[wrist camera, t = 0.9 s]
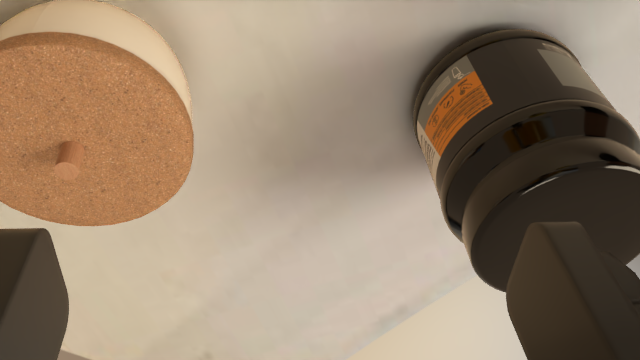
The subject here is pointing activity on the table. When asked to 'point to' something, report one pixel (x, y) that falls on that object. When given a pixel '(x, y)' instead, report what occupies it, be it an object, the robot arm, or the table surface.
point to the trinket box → (90, 115)
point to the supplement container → (526, 149)
